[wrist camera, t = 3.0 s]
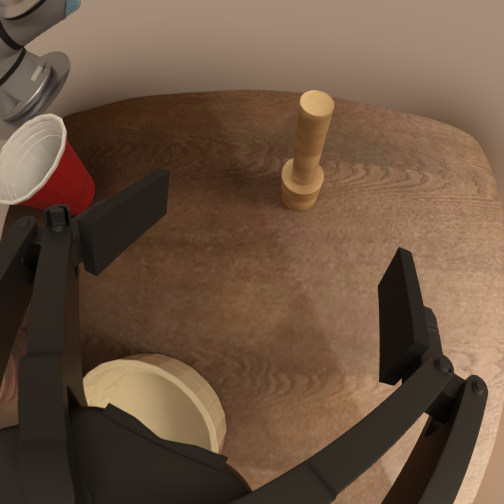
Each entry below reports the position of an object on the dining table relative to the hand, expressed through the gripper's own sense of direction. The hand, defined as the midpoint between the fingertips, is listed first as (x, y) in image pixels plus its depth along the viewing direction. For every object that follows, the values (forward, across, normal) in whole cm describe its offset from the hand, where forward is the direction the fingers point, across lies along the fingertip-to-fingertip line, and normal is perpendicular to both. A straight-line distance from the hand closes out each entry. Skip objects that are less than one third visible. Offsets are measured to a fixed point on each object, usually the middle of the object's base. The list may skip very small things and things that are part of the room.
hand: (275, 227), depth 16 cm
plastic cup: (+12, -27, -11) cm, 31 cm away
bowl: (-3, -6, -25) cm, 26 cm away
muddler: (+17, 0, -5) cm, 18 cm away
